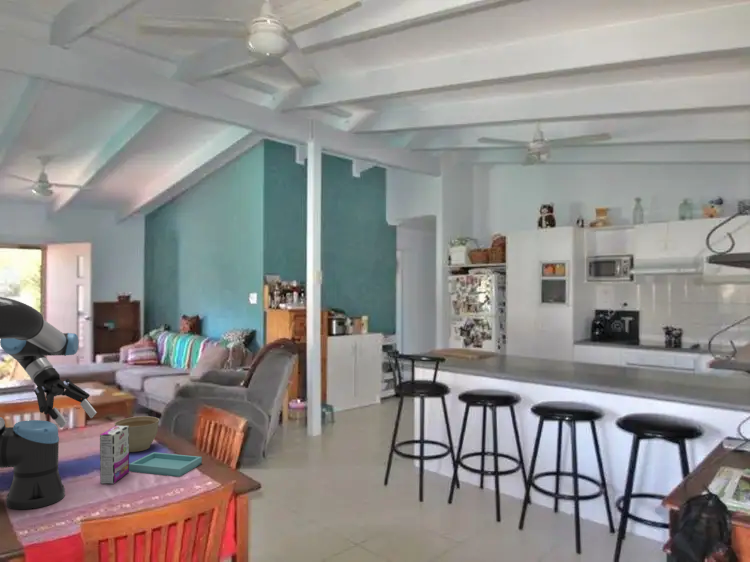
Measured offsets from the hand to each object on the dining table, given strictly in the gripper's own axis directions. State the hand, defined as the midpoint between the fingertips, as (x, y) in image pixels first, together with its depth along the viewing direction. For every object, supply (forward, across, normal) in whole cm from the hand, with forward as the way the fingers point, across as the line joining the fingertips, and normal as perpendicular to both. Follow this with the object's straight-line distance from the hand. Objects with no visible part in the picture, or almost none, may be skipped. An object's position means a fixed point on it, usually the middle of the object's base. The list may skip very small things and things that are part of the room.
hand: (79, 420), depth 194 cm
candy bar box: (+23, 0, -3) cm, 24 cm away
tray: (+30, -14, +4) cm, 34 cm away
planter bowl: (+14, -30, -13) cm, 35 cm away
